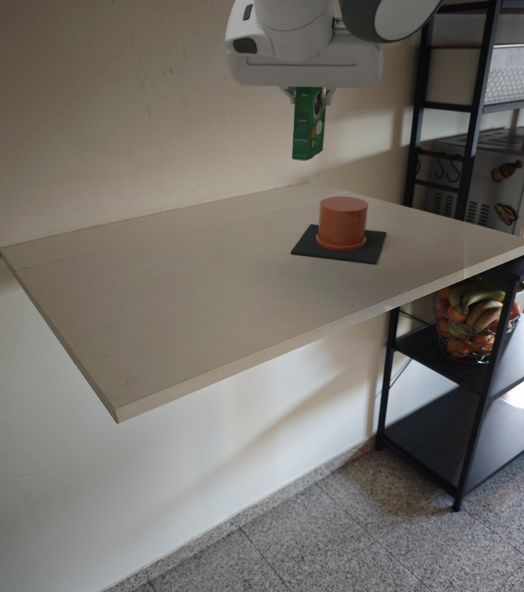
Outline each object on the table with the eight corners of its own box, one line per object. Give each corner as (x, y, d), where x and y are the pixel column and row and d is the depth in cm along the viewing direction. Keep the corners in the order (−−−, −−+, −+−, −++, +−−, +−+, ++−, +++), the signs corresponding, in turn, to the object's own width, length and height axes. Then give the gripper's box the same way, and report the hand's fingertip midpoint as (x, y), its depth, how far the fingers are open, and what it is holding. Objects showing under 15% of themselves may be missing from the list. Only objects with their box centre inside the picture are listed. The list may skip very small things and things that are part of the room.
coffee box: (306, 149, 79) (311, 53, 72) (324, 151, 78) (331, 54, 71) (290, 160, 73) (294, 56, 66) (309, 161, 72) (315, 57, 65)
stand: (369, 235, 100) (373, 198, 96) (361, 253, 93) (366, 214, 89) (321, 230, 103) (323, 193, 99) (310, 247, 95) (312, 208, 91)
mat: (386, 234, 102) (386, 231, 102) (376, 264, 90) (376, 262, 89) (310, 226, 107) (310, 223, 106) (290, 254, 94) (290, 251, 94)
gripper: (390, -5, 57) (388, 83, 70) (223, -1, 62) (250, 80, 75) (380, 42, 56) (380, 123, 69) (212, 42, 61) (241, 117, 74)
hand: (311, 100), depth 72 cm, fingers closed on coffee box, 3 cm apart
